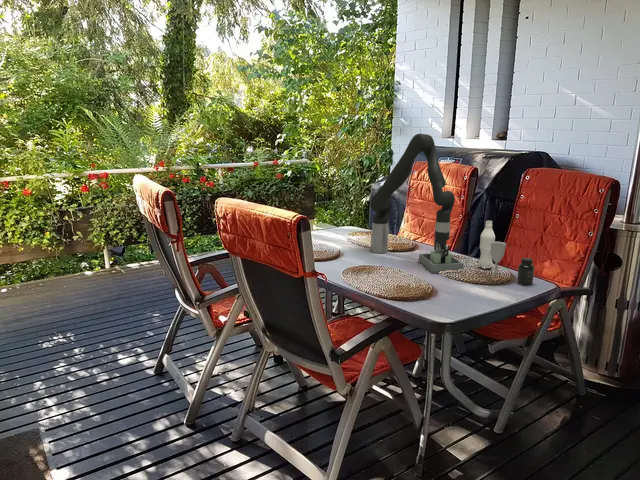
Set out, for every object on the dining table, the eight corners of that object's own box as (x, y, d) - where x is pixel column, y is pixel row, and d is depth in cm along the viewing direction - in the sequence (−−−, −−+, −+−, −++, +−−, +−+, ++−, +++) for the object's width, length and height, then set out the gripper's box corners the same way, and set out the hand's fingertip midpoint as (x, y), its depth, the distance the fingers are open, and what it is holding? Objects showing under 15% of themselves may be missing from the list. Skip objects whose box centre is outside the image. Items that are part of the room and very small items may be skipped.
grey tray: (432, 273, 244) (433, 265, 243) (418, 262, 263) (419, 254, 262) (463, 272, 246) (463, 263, 245) (446, 260, 266) (447, 252, 264)
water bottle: (493, 267, 254) (497, 220, 248) (491, 271, 248) (495, 223, 242) (478, 265, 257) (482, 219, 251) (476, 269, 251) (480, 221, 244)
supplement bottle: (532, 282, 231) (535, 258, 228) (532, 286, 225) (535, 261, 222) (517, 280, 234) (519, 256, 231) (516, 284, 228) (519, 260, 225)
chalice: (502, 277, 237) (506, 242, 233) (503, 282, 231) (506, 245, 227) (487, 276, 240) (490, 241, 235) (486, 280, 234) (490, 244, 229)
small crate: (434, 264, 251) (435, 254, 249) (430, 261, 256) (430, 251, 255) (451, 263, 252) (451, 253, 251) (446, 260, 258) (446, 250, 256)
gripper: (430, 227, 256) (428, 257, 260) (441, 233, 242) (439, 266, 247) (443, 226, 257) (441, 257, 262) (455, 233, 244) (453, 265, 248)
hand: (440, 261), depth 254 cm, fingers closed on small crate, 6 cm apart
